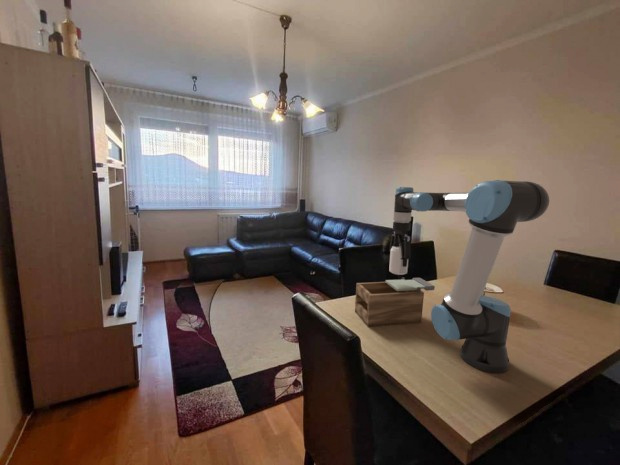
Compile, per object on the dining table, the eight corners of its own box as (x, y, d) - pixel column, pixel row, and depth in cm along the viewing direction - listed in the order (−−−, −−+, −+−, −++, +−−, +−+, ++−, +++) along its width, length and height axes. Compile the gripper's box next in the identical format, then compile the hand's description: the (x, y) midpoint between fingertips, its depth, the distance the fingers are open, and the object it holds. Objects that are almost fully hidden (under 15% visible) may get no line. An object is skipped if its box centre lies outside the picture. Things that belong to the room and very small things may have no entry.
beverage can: (391, 275, 132) (393, 249, 130) (387, 269, 140) (388, 245, 138) (409, 275, 132) (411, 249, 130) (404, 270, 140) (406, 245, 138)
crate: (421, 322, 133) (424, 288, 131) (367, 326, 128) (369, 291, 125) (403, 308, 149) (405, 276, 146) (354, 311, 143) (356, 279, 141)
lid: (434, 290, 134) (434, 285, 134) (397, 292, 130) (397, 287, 130) (419, 281, 146) (419, 277, 145) (385, 283, 142) (385, 279, 142)
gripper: (422, 224, 122) (417, 276, 126) (398, 218, 143) (394, 263, 146) (406, 224, 121) (402, 277, 125) (383, 218, 141) (380, 264, 145)
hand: (398, 270), depth 135 cm, fingers closed on beverage can, 8 cm apart
